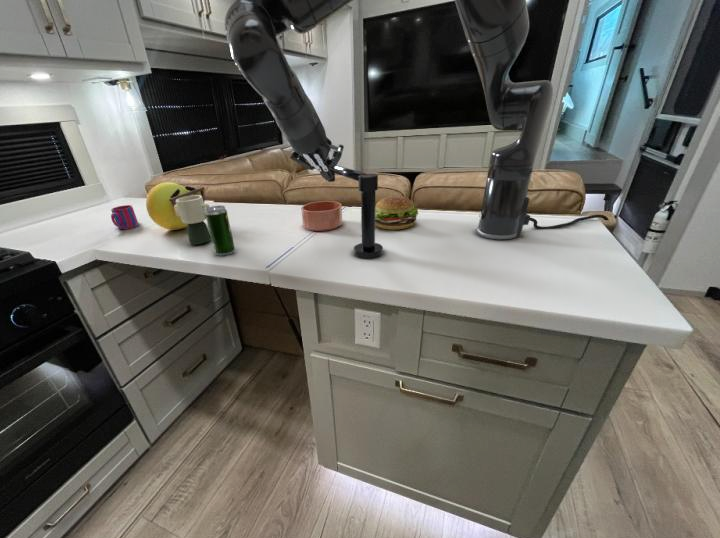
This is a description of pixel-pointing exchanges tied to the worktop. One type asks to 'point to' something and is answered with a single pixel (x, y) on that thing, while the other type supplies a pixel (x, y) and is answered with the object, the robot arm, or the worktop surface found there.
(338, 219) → the basin
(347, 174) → the spout
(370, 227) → the faucet base
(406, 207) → the food
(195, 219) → the character mug
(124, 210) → the cup
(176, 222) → the emoji
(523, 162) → the robot arm
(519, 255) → the worktop surface
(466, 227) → the worktop surface
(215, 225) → the beer can
